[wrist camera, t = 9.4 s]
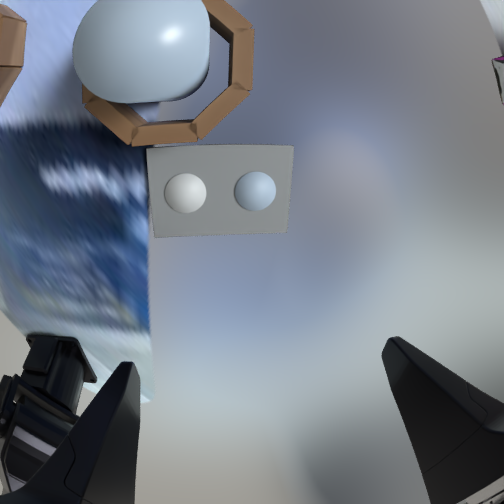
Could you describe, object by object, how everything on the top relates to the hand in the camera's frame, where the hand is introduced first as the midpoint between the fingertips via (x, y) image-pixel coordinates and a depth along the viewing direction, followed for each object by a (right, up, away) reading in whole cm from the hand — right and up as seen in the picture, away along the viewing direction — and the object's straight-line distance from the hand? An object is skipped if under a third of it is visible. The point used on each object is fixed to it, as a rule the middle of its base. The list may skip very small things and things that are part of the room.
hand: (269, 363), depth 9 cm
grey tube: (-5, +14, +5) cm, 16 cm away
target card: (-3, +8, +9) cm, 12 cm away
